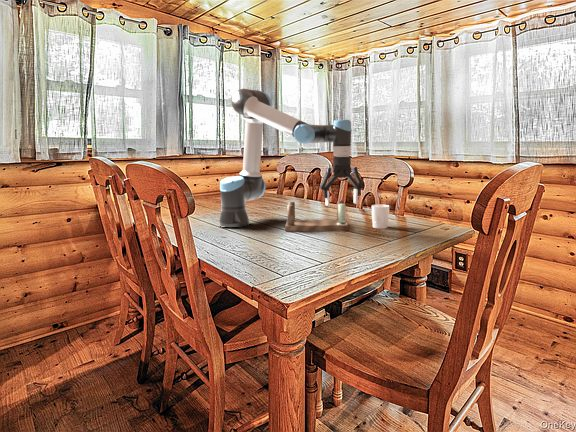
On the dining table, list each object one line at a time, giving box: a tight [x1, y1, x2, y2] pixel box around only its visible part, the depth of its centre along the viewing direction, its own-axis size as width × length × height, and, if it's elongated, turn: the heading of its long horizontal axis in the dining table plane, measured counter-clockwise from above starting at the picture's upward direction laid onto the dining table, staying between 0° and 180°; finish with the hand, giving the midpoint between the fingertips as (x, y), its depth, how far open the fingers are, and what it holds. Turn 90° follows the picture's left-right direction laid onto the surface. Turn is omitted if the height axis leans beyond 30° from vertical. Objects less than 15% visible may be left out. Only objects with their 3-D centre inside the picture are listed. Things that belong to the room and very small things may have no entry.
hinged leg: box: [338, 203, 347, 224], centre depth 173 cm, size 9×3×9 cm, turn 176°
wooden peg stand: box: [284, 200, 349, 233], centre depth 175 cm, size 28×13×12 cm, turn 87°
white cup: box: [371, 203, 390, 230], centre depth 173 cm, size 8×8×10 cm
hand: (341, 204), depth 169 cm, fingers open, 13 cm apart
